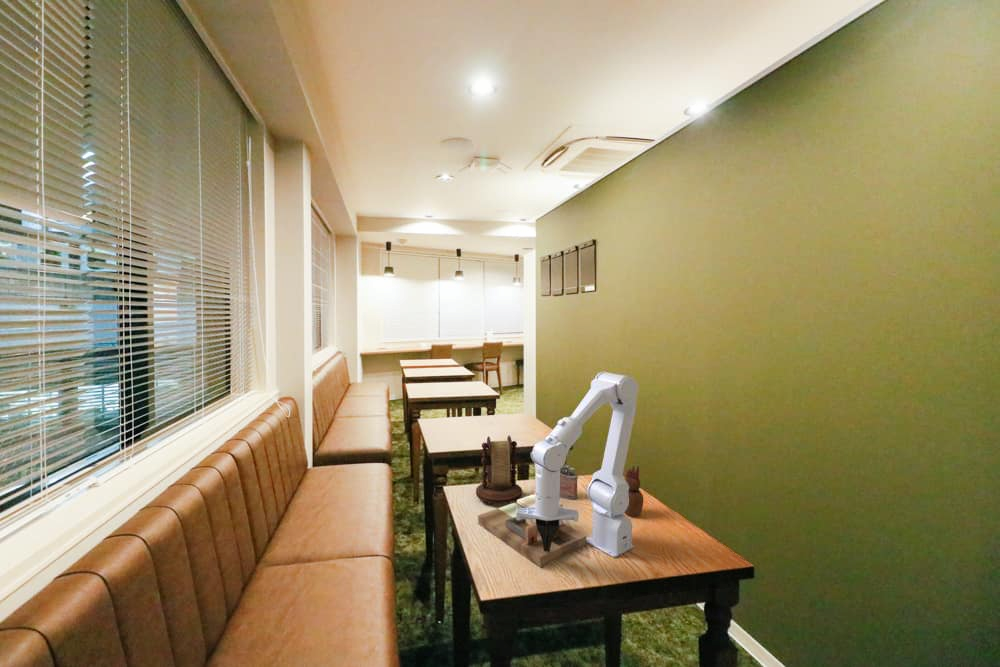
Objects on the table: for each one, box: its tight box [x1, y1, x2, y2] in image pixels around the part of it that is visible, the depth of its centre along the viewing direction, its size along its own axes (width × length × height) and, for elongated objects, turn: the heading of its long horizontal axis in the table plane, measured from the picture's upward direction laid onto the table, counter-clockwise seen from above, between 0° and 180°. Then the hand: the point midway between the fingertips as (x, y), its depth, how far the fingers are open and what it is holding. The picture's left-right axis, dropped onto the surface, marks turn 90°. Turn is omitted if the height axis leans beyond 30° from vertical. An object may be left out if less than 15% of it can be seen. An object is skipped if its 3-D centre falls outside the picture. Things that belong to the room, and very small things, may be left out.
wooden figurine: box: [624, 465, 644, 518], centre depth 126 cm, size 7×6×15 cm
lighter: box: [560, 465, 579, 501], centre depth 137 cm, size 8×3×10 cm, turn 58°
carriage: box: [505, 517, 547, 544], centre depth 111 cm, size 10×12×4 cm
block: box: [525, 519, 536, 525], centre depth 115 cm, size 4×4×4 cm
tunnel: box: [477, 493, 587, 569], centre depth 114 cm, size 26×16×8 cm, turn 37°
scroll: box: [475, 435, 523, 506], centre depth 136 cm, size 15×15×20 cm
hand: (546, 549), depth 101 cm, fingers closed
